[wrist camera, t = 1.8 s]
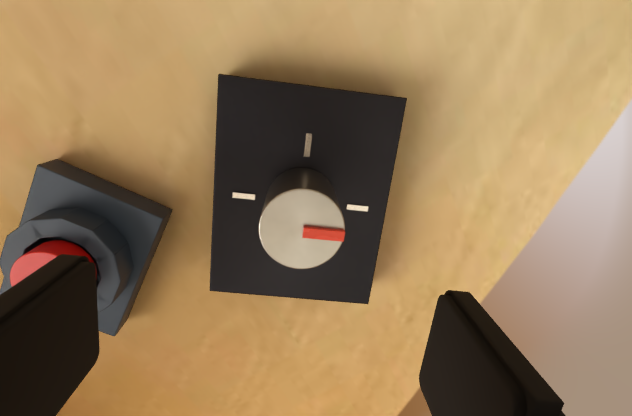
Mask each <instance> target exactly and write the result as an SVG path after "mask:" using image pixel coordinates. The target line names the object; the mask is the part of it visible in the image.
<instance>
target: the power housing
mask: <svg viewBox="0 0 632 416" xmlns="http://www.w3.org/2000/svg"><path fill="white" fill-rule="evenodd" d="M171 213H172V209H170V208H168V207H166V206H163V205H161V204H159V203H157V202H154V201H152V200H150V199H147V198H145V197H143V196H141V195H138V194H136V193H134V192H131V191H129V190H127V189H124V188H122V187H120V186H118V185H115V184H113V183H111V182H108V181H106V180H104V179H102V178H99V177H97V176H95V175H92V174H90V173H88V172H86V171H83V170H81V169H79V168H76V167H74V166H72V165H70V164H67V163H65V162H63V161H60V160H58V159H55V160H52V161H49V162H46V163H42V164H39V165H37V168H36V172H35V175H34V178H33V182H32V185H31V188H30V192H29V195H28V198H27V202H26V205H25V209H24V212H23V215H22V219H21V222H20V225H19V228H17V229H16V230H14V231H13V232H12V233H10V234H9V235H7V237H6V240H5V244H4V247H3V251H2V254H1V258H0V267H1V269H2V272H3V275H4V279H3V283H2V286H1V289H0V295H1V294H2V293H4V292H5V291H7V290H8V289H10V288H11V287H12V286H11V282H10V271H11V268H12V266H13V264H14V262H15V261H16V260H17V259H18V258H19V257H21V256H22V255H24V254H25V253H27V252H29V251H30V250H32V249H34V248H35V247H37V246H39V245H40V244H42V243H44V242H47V241H51V240H64V241H68V242H71V243H74V244H76V245H78V246H80V247H81V248H83V249H84V250H85V251H86V252H87V253H88V254H89V255H90V256H91V258H92V259H93V261H94V263H95V266H96V269H97V278H96V288H97V309H98V330H99V331H101V332H103V333H106V334H109V335H112V336H115V335H116V334H117V333H118V331H119V330H120V329H121V327H122V326H123V325H124V323H125V322H126V321H127V318H128V316H129V313H130V311H131V309H132V306H133V304H134V301H135V299H136V297H137V294H138V292H139V289H140V287H141V285H142V282H143V280H144V277H145V275H146V273H147V270H148V268H149V265H150V263H151V261H152V258H153V256H154V253H155V251H156V249H157V246H158V244H159V241H160V239H161V237H162V234H163V232H164V229H165V227H166V225H167V222H168V220H169V217H170V215H171Z"/></svg>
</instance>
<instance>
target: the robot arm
mask: <svg viewBox="0 0 632 416" xmlns="http://www.w3.org/2000/svg"><path fill="white" fill-rule="evenodd" d="M98 355H99V330H98V309H97V288H96V268H95V265H94V263H93V262H89V259H88V258H87V257H86V256H78V255H67V254H61V255H58V256H57V257H55V258H54V259H53V260H51V261H50V262H48V263H47V264H45V265H44V266H42V267H41V268H39V269H38V270H36V271H35V272H33V273H32V274H30V275H29V276H27V277H26V278H24V279H23V280H21V281H20V282H18V283H17V284H16V285H14V286H13V287H11V288H10V289H8V290H7V291H5V292H4V293H2V294H1V295H0V416H56V415H57V413H58V412H59V411H60V409H61V408H62V407H63V405H64V404H65V403H66V401H67V400H68V399H69V397H70V396H71V395H72V393H73V392H74V391H75V390H76V388H77V387H78V386H79V384H80V383H81V382H82V380H83V379H84V378H85V376H86V375H87V374H88V372H89V371H90V370H91V368H92V367H93V366H94V364H95V363H96V361H97V358H98ZM419 382H420V387H421V390H422V392H423V395H424V397H425V399H426V402H427V404H428V407H429V409H430V411H431V414H432V416H565V415H564V413H563V412H562V411H561V410H562V407H563V405H564V403H563V401H562V400H561V399H560V398H559V397H558V395H557V394H556V393H555V392H554V391H553V390H552V388H551V387H550V386H549V385H548V384H547V382H546V381H545V380H544V379H543V378H542V377H541V375H539V373H538V372H537V371H536V370H535V369H534V367H533V366H532V365H531V364H530V363H529V361H528V360H527V359H526V358H525V357H524V355H523V354H522V353H521V352H520V351H519V350H518V349H517V347H516V346H515V345H514V344H513V343H512V342H511V340H510V339H509V338H508V337H507V336H506V335H505V333H504V332H503V331H502V330H501V329H500V327H499V326H498V325H497V324H496V323H495V322H494V320H493V319H492V318H491V317H490V316H489V314H488V313H487V312H486V311H485V310H484V309H483V307H482V306H481V305H480V304H479V303H478V302H477V300H476V299H475V298H474V297H473V296H472V295H471V294H470V293H469V292H462V291H451V290H448V291H446V293H445V295H440V296H439V298H438V301H437V305H436V309H435V313H434V317H433V321H432V325H431V330H430V334H429V338H428V342H427V346H426V350H425V354H424V358H423V362H422V366H421V370H420V375H419Z"/></svg>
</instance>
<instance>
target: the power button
mask: <svg viewBox="0 0 632 416" xmlns="http://www.w3.org/2000/svg"><path fill="white" fill-rule="evenodd" d="M61 254H67V255H78V256H86V257H87V258H88V259H89V262H93V263H94V261H93V259H92V258H91V256H90V255H89V254H88V253H87V252H86V251H85V250H84V249H83V248H81V247H80V246H78V245H76V244H74V243H71V242H68V241H64V240H51V241H47V242H44V243H42V244H40V245H39V246H37V247H35V248H34V249H32V250H30V251H29V252H27V253H25V254H24V255H22V256H21V257H19V258H18V259H17V260H16V261H15V262H14V264H13V266H12V268H11V271H10V282H11V286H12V287H13V286H14V285H16V284H17V283H18V282H20V281H21V280H23V279H24V278H26V277H27V276H29V275H30V274H32V273H33V272H35V271H36V270H38V269H39V268H41V267H42V266H44V265H45V264H47V263H48V262H50V261H51V260H53V259H54V258H55V257H57V256H58V255H61ZM94 265H95V263H94ZM95 268H96V266H95ZM96 278H97V269H96Z"/></svg>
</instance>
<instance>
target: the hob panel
mask: <svg viewBox="0 0 632 416" xmlns="http://www.w3.org/2000/svg"><path fill="white" fill-rule="evenodd" d="M406 101H407V98H402V97H394V96H387V95H379V94H371V93H363V92H356V91H348V90H340V89H332V88H325V87H317V86H309V85H301V84H293V83H286V82H278V81H270V80H262V79H255V78H247V77H239V76H231V75H224V74H219V75H218V97H217V122H216V147H215V171H214V196H213V221H212V245H211V270H210V291H219V292H231V293H243V294H255V295H266V296H278V297H290V298H302V299H314V300H326V301H338V302H350V303H362V304H368V302H369V297H370V292H371V286H372V281H373V276H374V271H375V265H376V260H377V255H378V249H379V244H380V239H381V233H382V228H383V223H384V217H385V212H386V207H387V202H388V196H389V191H390V186H391V180H392V175H393V170H394V164H395V159H396V154H397V148H398V143H399V138H400V132H401V127H402V122H403V117H404V111H405V106H406ZM294 168H308V169H312V170H315V171H317V172H319V173H321V174H322V175H324V176H325V177H326V178H327V179H328V180H329V182H330V183H331V184H332V186H333V188H334V191H335V194H336V197H337V200H338V203H339V206H340V209H341V212H342V215H343V218H344V222H345V237H344V242H342V244H341V246H340V248H339V250H338V251H337V253H336V254H335V255H334V256H333V257H332V258H331V259H329V260H328V261H327V262H325V263H324V264H321V265H319V266H317V267H314V268H309V269H294V268H290V267H286V266H284V265H282V264H280V263H278V262H276V261H275V260H274V259H272V258H271V257H270V256H269V255H268V253H267V252H266V251H265V249H264V248H263V246H262V244H261V241H260V238H259V231H258V227H259V220H260V216H261V213H262V210H263V206H264V203H265V199H266V196H267V193H268V190H269V187H270V185H271V184H272V182H273V181H274V180H275V179H276V178H277V177H278V176H279V175H280V174H282V173H283V172H285V171H287V170H290V169H294Z"/></svg>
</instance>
